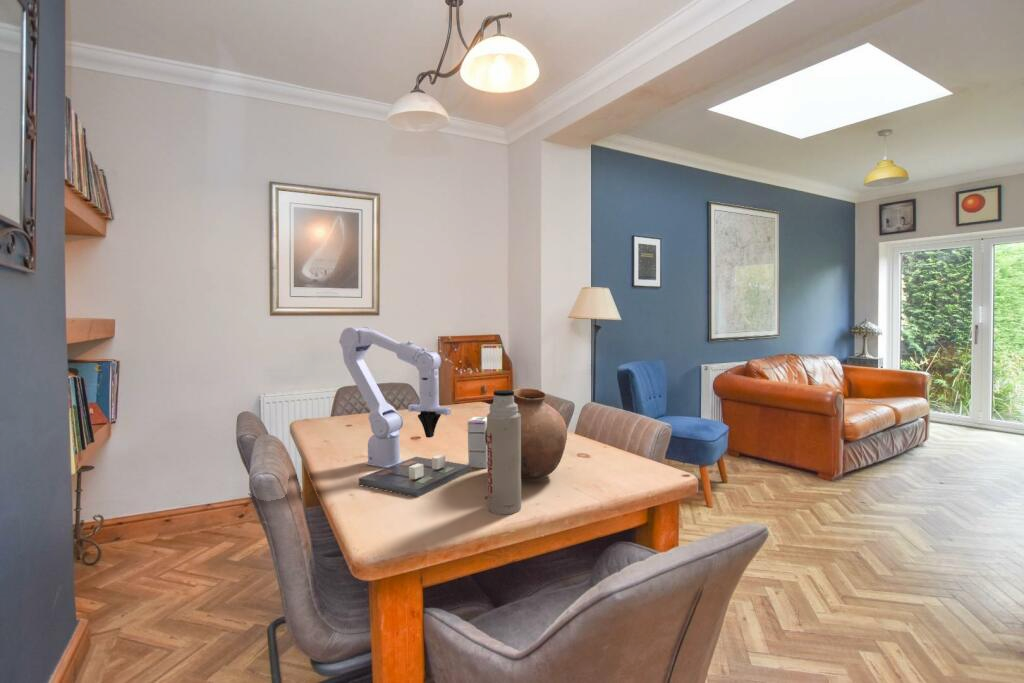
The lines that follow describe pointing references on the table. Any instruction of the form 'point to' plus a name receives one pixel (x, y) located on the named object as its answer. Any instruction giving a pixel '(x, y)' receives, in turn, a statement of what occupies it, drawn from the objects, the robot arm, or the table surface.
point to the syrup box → (477, 442)
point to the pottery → (539, 434)
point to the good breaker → (438, 461)
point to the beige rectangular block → (416, 471)
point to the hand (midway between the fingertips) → (429, 436)
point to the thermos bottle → (504, 454)
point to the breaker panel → (400, 482)
